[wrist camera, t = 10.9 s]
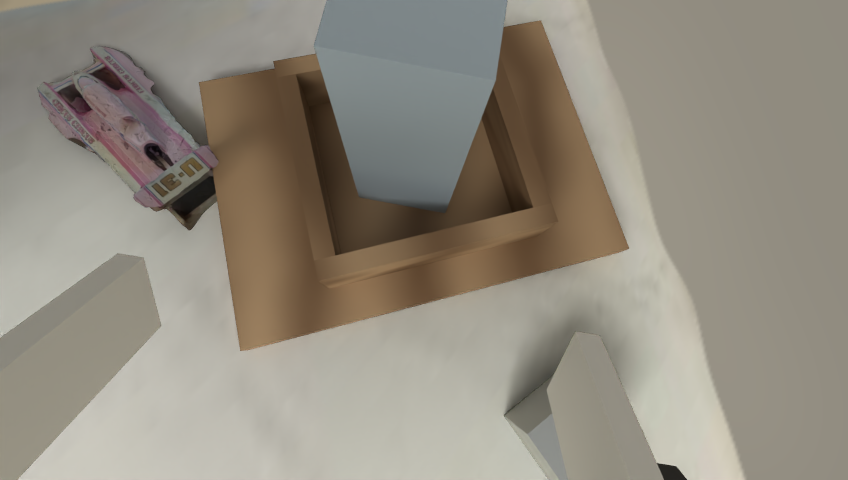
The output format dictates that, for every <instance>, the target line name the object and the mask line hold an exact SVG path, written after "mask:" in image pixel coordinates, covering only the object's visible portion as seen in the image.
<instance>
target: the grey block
mask: <svg viewBox="0 0 848 480" xmlns="http://www.w3.org/2000/svg"><path fill="white" fill-rule="evenodd" d="M552 377H553V376H552ZM552 377H550V378H549V379H548V380H547V381H545V382H544V383H543V384H542V385H541V386H539V387H538V388H537V389H536V390H534V391H533V392H532V393H531V394H530V395H528V396H527V397H526V398H525V399H523V400H522V401H521V402H520V403H519V404H517V405H516V406H515V407H514V408H512V409H511V410H510V411H509V412H508V413H506V414H505V415H504V417H505V418H506V419H507V421H508V422H509V424H510V425H511V427H512V428H513V429H514V431H515V432H516V434H517V435H518V437H519V438H520V439H521V441H522V442H523V444H524V445H525V447H526V448H527V449H528V451H529V452H530V454H531V455H532V457H533V458H534V459H535V461H536V462H537V464H538V465H539V467H540V468H541V469H542V471H543V472H544V474H545V475H546V477H547V478H548V479H549V480H568V478H567V474H566V469H565V465H564V461H563V457H562V453H561V448H560V444H559V440H558V436H557V432H556V428H555V423H554V419H553V415H552V411H551V407H550V402H549V398H548V394H547V388H548V386H549V384H550V382H551V379H552Z"/></svg>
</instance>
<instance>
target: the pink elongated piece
mask: <svg viewBox="0 0 848 480" xmlns="http://www.w3.org/2000/svg"><path fill="white" fill-rule="evenodd" d="M90 50H91V52H92V54H93V56H94V58H95V59H94V61H95V63H94V64H93V65H91V66H90V67H88V68H86V69H84V70H82V71H74V72H73V73H72V75H71V76H69V77H68V78H66V79H64V80H63V81H61V82H57V83H53V82H51V83H49V84H48V83H45V82H43V83H42V84H41V85H40V86H39V87H38V88H37V89H38V91H39V97H40V99H41V103H42V106H43V107H44V108H46V109H47V110H48V111H49V112H50V113H49V118H48V119H49V120H50V121H51V122H52V123H53V124H54V126H55V127H56V128H57V129H58V130H59V131H60V132H61V133H62V135H64V136H65V137H66V138H67V139H69V140H71V141H73V142H74V143H76V144H78V145H80V146H82V147H84V148H86V149H88V150H90V151H91V152H93V153H95V154H97V155H98V156H99V157H100V159H102V160H103V161H104V162H106V163H107V164H108V165H109V166H110V167H111V168H112V169H113V170H114V171H115V173H116V174H117V175H118V176H119V177H120V178H121V179H122V180H123V181H124V182H125V183H126V184H127V185H128V186H129V187H130V188H131V189H132V190H133V191H134V192H135V194H134V199H135V201H137V202H138V203H140V204H141V205H143V206H144V207H150V208H151V209H153V210H154V211H160V210H162V209H168V210H169V211H170V212H171V213H172V214H173V215H174V216H175V217H176V218H177V220H178V221H179V222H180V223H181V224H182V225H183V226H185V227H186V228H187V229H188V230H191V229H192V228H193V227H194V225H195V224H196V222H197V221H198V219H199V218H200V217H201V215H202V214H203V213H204V212H205V211H206V210H207V209H208V208H209V207H210V206H212V205H213V204H214V203H215V202H216V201H217V196H216V189H215V183H214V177H213V171H212V170H211V169H210V168H214V167H216V166H217V164H218V162H219V161H218V159H217V157H216V156H215V155H214V153H213V152H212V151H211V149H210V147H209V145H204V146H203V145H202V146H200V145H199V143H197V142H194V140H193V138H192V135H191V134H189V133H187V132H186V130H184V129H183V128H182V126H181V125H180V124H179V123H178V122H177V121H175V117H173V116H172V115H171V114H170V111H169V110H167V108H166V107H165V106H164V104H163V102H162V100H161V98H160V97H159V96H156V95H154V94H153V93H152V91H151V87H152V86H153V85H154V82H153V81H152V80H149V79H148V78H147V77H146V76H145V75H144V72H145V71H144V70H142V68H140V67H136V66H135V65H134V64H133V60H132V59H131V57H130V56H129V55H127V54H126V53H124V52H122V51H118V50H115V49H112V48H109V47H102V46H97V47H91V48H90ZM86 102H87V103H88V104H89V105H88V104H87V103H86Z"/></svg>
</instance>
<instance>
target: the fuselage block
mask: <svg viewBox="0 0 848 480" xmlns="http://www.w3.org/2000/svg"><path fill="white" fill-rule="evenodd" d="M506 7H507V0H327V1H326V5H325V8H324V12H323V15H322V19H321V22H320V26H319V29H318V33H317V36H316V40H315V43H314V48H315V52H316V55H317V58H318V62H319V65H320V68H321V72H322V75H323V78H324V82H325V85H326V88H327V92H328V95H329V98H330V102H331V105H332V108H333V112H334V115H335V118H336V122H337V125H338V128H339V132H340V135H341V138H342V142H343V145H344V149H345V152H346V155H347V159H348V162H349V165H350V169H351V172H352V175H353V179H354V182H355V185H356V189H357V192H358V195H359V197H360V198H365V199H371V200H376V201H381V202H387V203H392V204H398V205H403V206H408V207H414V208H419V209H425V210H430V211H435V212H441V213H446V210H447V207H448V205H449V202H450V199H451V197H452V194H453V191H454V189H455V186H456V184H457V181H458V178H459V176H460V173H461V170H462V168H463V165H464V163H465V160H466V157H467V155H468V152H469V149H470V147H471V144H472V141H473V139H474V136H475V134H476V131H477V128H478V126H479V123H480V120H481V118H482V115H483V113H484V110H485V107H486V105H487V102H488V99H489V97H490V94H491V91H492V89H493V86H494V84H495V81H496V75H497V68H498V61H499V54H500V47H501V41H502V34H503V27H504V20H505V13H506Z"/></svg>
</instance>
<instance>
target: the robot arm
mask: <svg viewBox="0 0 848 480" xmlns="http://www.w3.org/2000/svg"><path fill="white" fill-rule="evenodd" d="M160 327H161V322H160V318H159V315H158V311H157V307H156V303H155V299H154V296H153V292H152V288H151V284H150V280H149V277H148V273H147V269H146V265H145V261H144V258H142V257H136V256H130V255H124V254H116V255H115V256H114V257H112V258H111V259H109V260H108V261H107V262H105V263H104V264H102V265H101V266H100V267H98V268H97V269H95V270H94V271H93V272H91V273H90V274H88V275H87V276H86V277H84V278H83V279H81V280H80V281H79V282H77V283H76V284H75V285H73V286H72V287H70V288H69V289H68V290H66V291H65V292H63V293H62V294H61V295H59V296H58V297H56V298H55V299H54V300H52V301H51V302H49V303H48V304H47V305H45V306H44V307H42V308H41V309H40V310H38V311H37V312H35V313H34V314H33V315H31V316H30V317H29V318H27V319H26V320H24V321H23V322H22V323H20V324H19V325H17V326H16V327H15V328H13V329H12V330H10V331H9V332H8V333H6V334H5V335H3V336H2V337H1V338H0V480H17V479H18V478H19V477H20V476H21V475H22V474H23V473H24V472H25V471H26V470H27V469H28V468H29V467H30V466H31V464H32V463H33V462H34V461H35V460H36V459H37V458H38V457H39V456H40V455H41V454H42V453H43V452H44V451H45V449H46V448H47V447H48V446H49V445H50V444H51V443H52V442H53V441H54V440H55V439H56V438H57V437H58V436H59V435H60V433H61V432H62V431H63V430H64V429H65V428H66V427H67V426H68V425H69V424H70V423H71V422H72V421H73V420H74V418H75V417H76V416H77V415H78V414H79V413H80V412H81V411H82V410H83V409H84V408H85V407H86V406H87V405H88V404H89V402H90V401H91V400H92V399H93V398H94V397H95V396H96V395H97V394H98V393H99V392H100V391H101V390H102V389H103V387H104V386H105V385H106V384H107V383H108V382H109V381H110V380H111V379H112V378H113V377H114V376H115V375H116V374H117V373H118V371H119V370H120V369H121V368H122V367H123V366H124V365H125V364H126V363H127V362H128V361H129V360H130V359H131V358H132V356H133V355H134V354H135V353H136V352H137V351H138V350H139V349H140V348H141V347H142V346H143V345H144V344H145V343H146V342H147V340H148V339H149V338H150V337H151V336H152V335H153V334H154V333H155V332H156V331H157V330H158V329H159V328H160ZM547 394H548V398H549V402H550V407H551V411H552V415H553V419H554V423H555V428H556V432H557V436H558V440H559V444H560V448H561V453H562V457H563V461H564V465H565V469H566V474H567V478H568V480H687V479H686V478H685V477H684V475H683V474H682V473H681V472H680V470H679V469H678V468H677V467H676V466H671V465H665V464H658V463H656V460H655V458H654V456H653V454H652V451H651V449H650V447H649V445H648V442H647V440H646V438H645V436H644V433H643V431H642V429H641V427H640V424H639V422H638V420H637V418H636V415H635V413H634V411H633V409H632V406H631V404H630V402H629V400H628V397H627V395H626V393H625V390H624V388H623V386H622V384H621V381H620V379H619V377H618V375H617V372H616V370H615V368H614V366H613V363H612V361H611V359H610V357H609V354H608V352H607V350H606V348H605V345H604V343H603V341H602V339H601V336H600V335H595V334H589V333H584V332H578V331H575V333H574V335H573V337H572V339H571V341H570V343H569V345H568V347H567V349H566V351H565V353H564V355H563V357H562V359H561V361H560V363H559V365H558V367H557V369H556V371H555V373H554V375H553V377H552V379H551V382H550V384H549V386H548V388H547Z"/></svg>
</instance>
